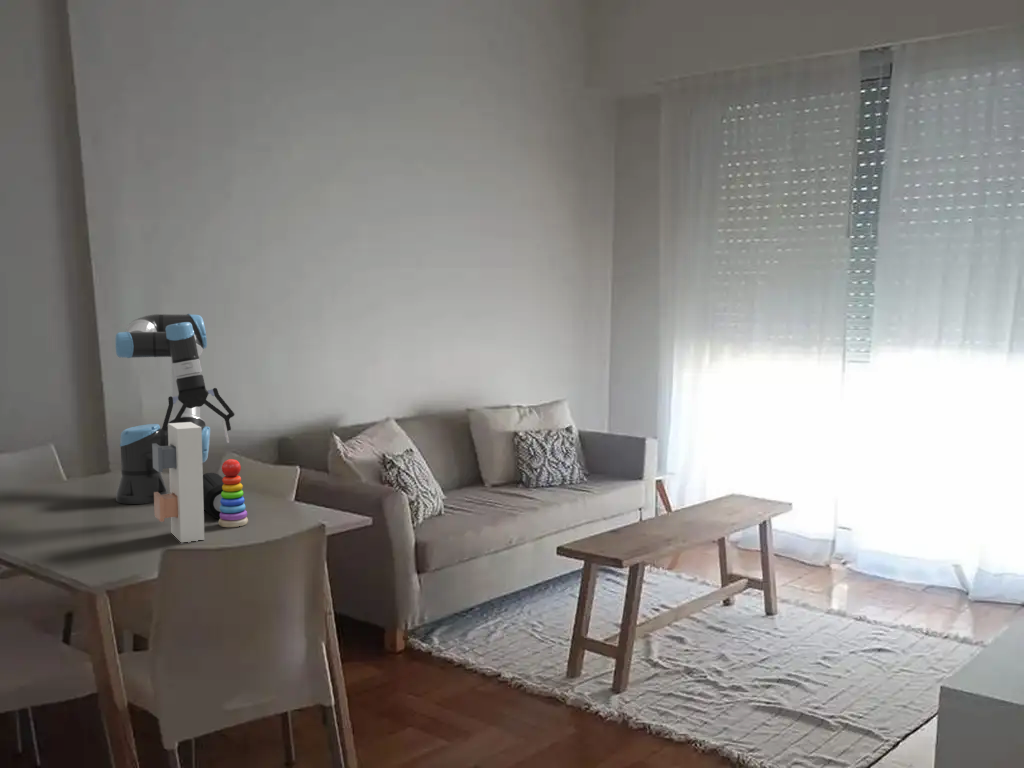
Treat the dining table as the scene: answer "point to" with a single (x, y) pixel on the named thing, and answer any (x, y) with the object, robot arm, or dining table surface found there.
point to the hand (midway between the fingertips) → (204, 447)
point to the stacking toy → (232, 496)
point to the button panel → (187, 481)
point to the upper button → (163, 457)
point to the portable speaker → (212, 493)
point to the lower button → (165, 506)
